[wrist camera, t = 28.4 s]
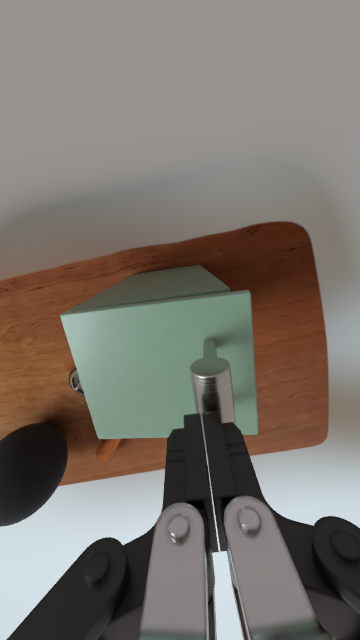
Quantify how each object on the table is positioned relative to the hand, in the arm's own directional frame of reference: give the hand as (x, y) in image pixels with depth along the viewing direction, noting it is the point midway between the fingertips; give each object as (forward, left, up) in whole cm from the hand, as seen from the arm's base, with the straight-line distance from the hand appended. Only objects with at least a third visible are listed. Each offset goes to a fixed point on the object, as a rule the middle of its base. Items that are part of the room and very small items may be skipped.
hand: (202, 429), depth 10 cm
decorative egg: (+38, -5, -29) cm, 48 cm away
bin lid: (+1, -1, -6) cm, 6 cm away
